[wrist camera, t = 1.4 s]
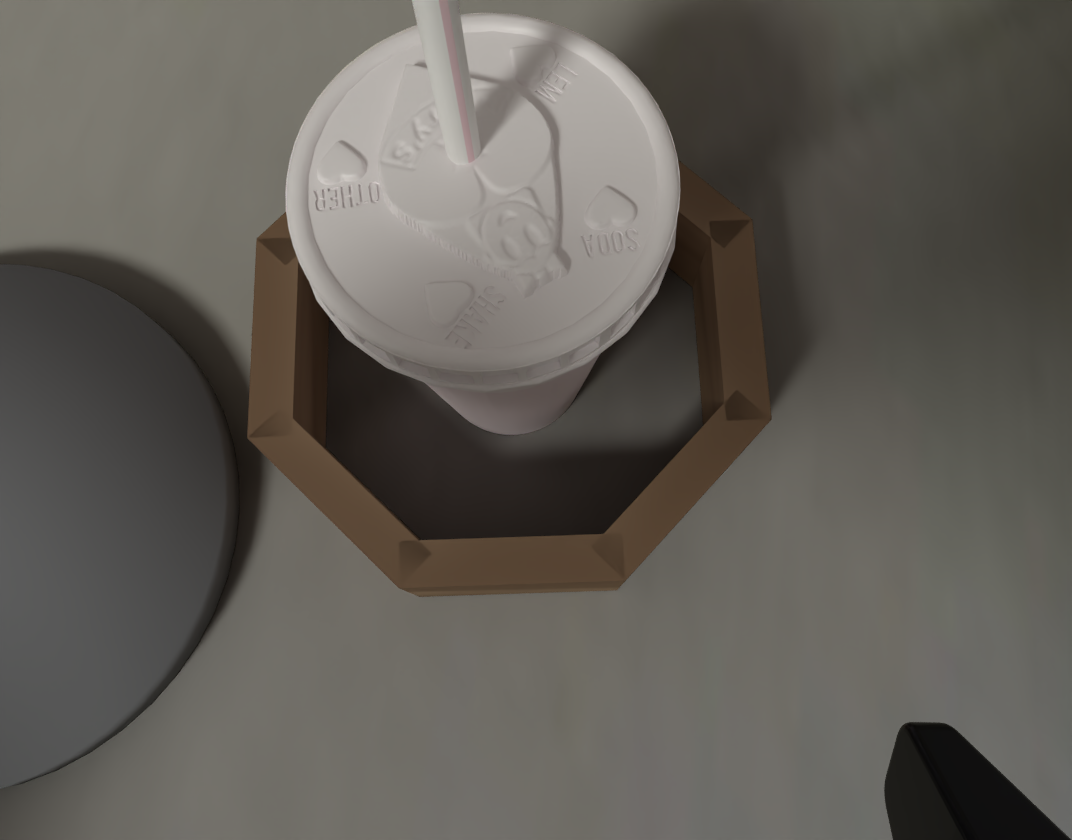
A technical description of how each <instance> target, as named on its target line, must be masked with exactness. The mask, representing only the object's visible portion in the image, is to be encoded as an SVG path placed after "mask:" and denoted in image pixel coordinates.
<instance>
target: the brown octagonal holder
mask: <svg viewBox="0 0 1072 840" xmlns="http://www.w3.org/2000/svg"><path fill="white" fill-rule="evenodd" d="M678 165H679V171H680V201H679V211H678V216H677V227H676V239H675V249H674V252H673V254H672V257H671V259H670V262H669V264H668V267H669V268H670V269H671V270H672V271H674V272H675V273H676V274H677V275H678V276H680V277H681V278H682V279H683V280H684V281H686V282H687V283H688V284H689V285H690V286H692V287H693V300H694V312H695V325H696V338H697V351H698V364H699V377H700V390H701V403H702V416H703V427H702V428H701V429H700V430H699V431H698V432H697V433H696V434H695V435H694V436H693V437H692V438H691V440H690V441H689V442H688V443H687V444H686V445H685V446H684V447H683V448H682V449H681V450H680V452H679V453H678V454H677V455H676V456H675V457H674V458H673V459H672V460H671V461H670V462H669V463H668V465H667V466H666V467H665V468H664V469H663V470H662V471H661V472H660V473H659V474H658V475H657V476H656V478H655V479H654V480H653V481H652V482H651V483H650V484H649V485H648V486H647V487H646V488H645V489H644V491H643V492H642V493H641V494H640V495H639V496H638V497H637V498H636V499H635V500H634V501H633V503H632V504H631V505H630V506H629V507H628V508H627V509H626V510H625V511H624V512H623V513H622V514H621V516H620V517H619V518H618V519H617V520H616V521H615V522H614V523H613V524H612V525H611V526H610V527H609V529H608V530H607V531H606V532H605V533H604V534H590V535H560V536H531V537H501V538H472V539H442V540H421V539H420V538H418V537H417V536H416V535H415V534H414V533H413V532H412V531H411V530H410V529H409V528H408V527H407V526H406V525H405V524H404V523H403V522H402V521H401V520H400V519H399V518H398V517H397V516H396V515H395V514H394V513H393V512H392V511H391V510H390V509H389V508H388V507H387V506H385V505H384V504H383V503H382V502H381V501H380V500H379V499H378V498H377V497H376V496H375V495H374V494H373V493H372V492H371V491H370V490H369V489H368V488H367V487H366V486H365V485H364V484H363V483H362V482H361V481H360V480H359V479H358V478H357V477H356V476H355V475H354V474H352V473H351V472H350V471H349V470H348V469H347V468H346V467H345V466H344V465H343V464H342V463H341V462H340V461H339V460H338V459H337V458H336V457H335V456H334V455H333V454H332V453H331V452H330V451H329V450H328V449H327V448H326V415H327V377H328V338H329V316H328V315H327V313H326V312H325V311H324V310H323V308H322V307H321V306H320V305H319V303H318V302H317V300H316V298H315V295H314V293H313V290H312V288H311V285H310V283H309V281H308V279H307V277H306V275H305V273H304V271H303V269H302V267H301V265H300V263H299V261H298V258H297V256H296V253H295V250H294V248H293V244H292V240H291V237H290V233H289V229H288V222H287V215H286V212H285V213H284V214H283V215H282V216H281V217H280V218H279V219H278V220H276V221H275V222H274V223H273V224H272V225H271V226H270V227H269V228H268V229H267V230H266V231H265V232H263V233H262V234H261V235H260V236H259V237H258V238H257V243H256V264H255V285H254V306H253V327H252V348H251V369H250V390H249V411H248V431H247V438H248V439H249V440H250V441H251V442H252V443H253V444H254V445H255V446H256V447H257V448H258V449H259V450H260V451H261V452H262V453H263V454H264V455H265V456H266V457H267V458H268V459H269V460H270V461H271V462H272V463H273V464H274V465H275V466H276V467H277V468H278V469H279V470H280V471H281V472H282V473H283V474H284V475H285V476H286V477H287V478H288V479H289V480H290V481H291V482H292V483H293V484H294V485H295V486H296V487H297V488H298V489H299V490H300V491H301V492H302V493H303V494H304V495H305V496H306V497H307V498H308V499H309V500H310V501H311V502H312V503H313V504H314V505H315V506H316V507H317V508H318V509H319V510H320V511H322V512H323V513H324V514H325V515H326V516H327V517H328V518H329V519H330V520H331V521H332V522H333V523H334V524H335V525H336V526H337V527H338V528H339V529H340V530H341V531H342V532H343V533H344V534H345V535H346V536H347V537H348V538H349V539H350V540H351V541H352V542H353V543H354V544H355V545H356V546H357V547H358V548H359V549H360V550H361V551H362V552H363V553H364V554H365V555H366V556H367V557H368V558H369V559H370V560H371V561H372V562H373V563H374V564H375V565H376V566H377V567H378V568H379V569H380V570H381V571H382V572H383V573H384V574H385V575H386V576H387V577H388V578H389V579H390V580H391V581H392V582H393V583H394V584H395V585H396V586H397V587H398V588H400V589H402V590H405V591H407V592H410V593H412V594H414V595H417V596H419V597H425V596H455V595H486V594H516V593H547V592H577V591H608V590H617V589H618V588H619V587H620V586H621V585H622V584H623V583H624V582H625V581H626V580H627V578H628V577H629V576H630V575H631V574H632V573H633V572H634V571H635V570H636V568H637V567H638V566H639V565H640V564H641V563H642V562H643V561H644V560H645V559H646V557H647V556H648V555H649V554H650V553H651V552H652V551H653V550H654V549H655V548H656V546H657V545H658V544H659V543H660V542H661V541H662V540H663V539H664V538H665V536H666V535H667V534H668V533H669V532H670V531H671V530H672V529H673V528H674V527H675V525H676V524H677V523H678V522H679V521H680V520H681V519H682V518H683V517H684V516H685V514H686V513H687V512H688V511H689V510H690V509H691V508H692V507H693V506H694V504H695V503H696V502H697V501H698V500H699V499H700V498H701V497H702V496H703V495H704V493H705V492H706V491H707V490H708V489H709V488H710V487H711V486H712V485H713V484H714V482H715V481H716V480H717V479H718V478H719V477H720V476H721V475H722V474H723V472H724V471H725V470H726V469H727V468H728V467H729V466H730V465H731V464H732V463H733V461H734V460H735V459H736V458H737V457H738V456H739V455H740V454H741V453H742V451H743V450H744V449H745V448H746V447H747V446H748V445H749V444H750V443H751V442H752V440H753V439H754V438H755V437H756V436H757V435H758V434H759V433H760V432H761V430H762V429H763V428H764V427H765V426H766V425H767V424H768V423H769V422H770V420H771V408H770V398H769V387H768V377H767V367H766V356H765V346H764V336H763V325H762V315H761V305H760V294H759V284H758V274H757V263H756V253H755V242H754V232H753V222H752V219H751V218H750V217H749V216H747V215H746V214H745V213H744V212H742V211H741V210H740V209H739V208H738V207H736V206H735V205H734V204H733V203H731V202H730V201H729V200H728V199H726V198H725V197H724V196H723V195H721V194H720V193H719V192H718V191H716V190H715V189H714V188H713V187H711V186H710V185H709V184H708V183H706V182H705V181H704V180H703V179H701V178H700V177H699V176H698V175H696V174H695V173H694V172H693V171H691V170H690V169H689V168H688V167H686V166H685V165H684V164H683V163H681V162H680V161H679V160H678Z"/></svg>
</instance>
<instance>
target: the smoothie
mask: <svg viewBox="0 0 1072 840" xmlns="http://www.w3.org/2000/svg"><path fill="white" fill-rule="evenodd" d="M412 3H413V7H414V12H415V16H416V21H417V25H415V26H413V27H410V28H407V29H405V30H402V31H400V32H398V33H396V34H394V35H392V36H390V37H388V38H386V39H384V40H382V41H381V42H379V43H377V44H376V45H374V46H372V47H371V48H369V49H368V50H366V51H365V52H364V53H362V54H361V55H359V56H358V57H357V58H355V59H354V60H353V61H352V62H351V63H350V64H348V65H347V66H346V67H345V68H344V69H343V70H342V71H341V72H340V73H339V74H338V75H337V76H336V77H335V78H334V79H333V80H332V81H331V82H330V83H329V84H328V86H327V87H326V88H325V89H324V91H323V92H322V93H321V94H320V96H319V97H318V99H317V100H316V102H315V103H314V105H313V106H312V108H311V109H310V111H309V113H308V115H307V116H306V118H305V120H304V122H303V124H302V126H301V128H300V131H299V133H298V136H297V138H296V141H295V143H294V147H293V150H292V154H291V157H290V161H289V167H288V172H287V180H286V193H285V195H286V215H287V222H288V229H289V233H290V237H291V240H292V244H293V248H294V250H295V253H296V256H297V258H298V261H299V263H300V265H301V267H302V269H303V271H304V273H305V275H306V277H307V279H308V281H309V283H310V285H311V288H312V290H313V293H314V295H315V298H316V300H317V302H318V303H319V305H320V306H321V307H322V308H323V310H324V311H325V312H326V313H327V315H328V316H329V317H330V319H331V320H332V321H333V322H334V324H335V325H336V326H337V328H338V329H339V330H340V331H341V333H342V334H343V335H344V337H345V338H346V339H347V340H349V341H350V342H351V343H353V344H354V345H355V346H357V347H358V348H360V349H361V350H362V351H364V352H365V353H366V354H368V355H369V356H371V357H372V358H373V359H375V360H376V361H377V362H379V363H380V364H382V365H383V366H384V367H386V368H387V369H390V370H393V371H395V372H398V373H401V374H403V375H406V376H408V377H411V378H414V379H416V380H419V381H422V382H424V383H426V384H427V385H428V386H429V387H430V388H431V389H432V390H433V391H435V392H436V393H437V394H438V395H439V396H440V397H441V398H442V399H444V400H445V401H446V402H447V403H448V404H449V405H450V406H451V407H453V408H454V409H455V410H456V411H457V412H458V413H459V414H460V415H462V416H463V417H464V418H465V419H466V420H468V421H469V422H470V423H472V424H473V425H475V426H477V427H479V428H481V429H483V430H486V431H489V432H492V433H496V434H503V435H520V434H526V433H530V432H534V431H537V430H539V429H542V428H544V427H546V426H548V425H549V424H551V423H552V422H554V421H555V420H557V419H558V418H559V417H560V416H561V415H562V414H563V413H564V412H565V411H566V410H567V409H568V408H569V407H570V405H571V404H572V402H573V401H574V399H575V397H576V395H577V394H578V392H579V390H580V388H581V387H582V385H583V383H584V381H585V380H586V378H587V376H588V374H589V373H590V371H591V369H592V367H593V366H594V364H595V362H596V360H597V359H598V357H599V355H600V353H602V352H603V351H604V350H606V349H607V348H608V347H610V346H611V345H612V344H613V343H615V342H616V341H617V340H619V339H620V338H621V337H623V336H624V335H625V334H626V333H627V332H628V331H629V330H630V329H631V327H632V326H633V325H634V323H635V322H636V321H637V319H638V318H639V317H640V315H641V314H642V313H643V311H644V310H645V309H646V307H647V306H648V305H649V303H650V302H651V301H652V300H653V298H654V297H655V296H656V294H657V293H658V290H659V287H660V285H661V282H662V280H663V277H664V275H665V272H666V270H667V267H668V264H669V262H670V259H671V257H672V254H673V252H674V249H675V239H676V227H677V216H678V211H679V201H680V171H679V165H678V158H677V153H676V149H675V145H674V141H673V138H672V135H671V132H670V130H669V127H668V124H667V122H666V120H665V118H664V116H663V114H662V112H661V110H660V108H659V106H658V104H657V103H656V101H655V100H654V98H653V97H652V95H651V93H650V92H649V90H648V89H647V88H646V87H645V85H644V84H643V83H642V82H641V80H640V79H639V78H638V77H637V76H636V75H635V74H634V73H633V72H632V71H631V70H630V69H629V68H628V67H627V66H626V65H625V64H624V63H623V62H622V61H621V60H619V59H618V58H617V57H616V56H615V55H613V54H612V53H611V52H609V51H608V50H606V49H605V48H604V47H602V46H601V45H599V44H598V43H596V42H594V41H592V40H591V39H589V38H587V37H585V36H584V35H582V34H580V33H577V32H575V31H573V30H571V29H568V28H566V27H563V26H560V25H557V24H555V23H552V22H549V21H545V20H541V19H537V18H533V17H527V16H521V15H515V14H503V13H472V14H462V15H460V9H459V3H458V0H412Z"/></svg>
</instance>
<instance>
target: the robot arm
mask: <svg viewBox="0 0 1072 840" xmlns="http://www.w3.org/2000/svg"><path fill="white" fill-rule="evenodd" d="M884 792H885V803H886V809H887V814H888V818H889V823H890V828H891V832H892V837H893V840H1071V839H1070V838H1069V837H1068V836H1067V835H1066V834H1065V833H1064V832H1063V831H1061V830H1060V829H1059V828H1058V827H1057V826H1056V825H1055V824H1054V823H1053V822H1052V821H1051V820H1050V819H1049V818H1048V817H1047V816H1046V815H1045V814H1044V813H1043V812H1042V811H1041V810H1039V809H1038V808H1037V807H1036V806H1035V805H1034V804H1033V803H1032V802H1031V801H1030V800H1029V799H1028V798H1027V797H1026V796H1025V795H1024V794H1023V793H1022V792H1021V791H1020V790H1019V789H1017V788H1016V787H1015V786H1014V785H1013V784H1012V783H1011V782H1010V781H1009V780H1008V779H1007V778H1006V777H1005V776H1004V775H1003V774H1002V773H1001V772H1000V771H999V770H998V769H997V768H995V767H994V766H993V765H992V764H991V763H990V762H989V761H988V760H987V759H986V758H985V757H984V756H983V755H982V754H981V753H980V752H979V751H978V750H977V749H976V748H975V747H974V746H972V745H971V744H970V743H969V742H968V741H967V740H966V739H965V738H964V737H963V736H962V735H961V734H960V733H959V732H958V731H957V730H955V729H954V728H953V727H951V726H949V725H947V724H945V723H930V722H909V723H905V724H904V725H903V726H902V727H901V728H900V730H899V732H898V735H897V738H896V742H895V745H894V749H893V753H892V756H891V760H890V764H889V767H888V771H887V774H886V779H885V787H884Z"/></svg>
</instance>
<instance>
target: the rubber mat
mask: <svg viewBox="0 0 1072 840" xmlns="http://www.w3.org/2000/svg"><path fill="white" fill-rule="evenodd" d="M238 518H239V476H238V469H237V463H236V456H235V450H234V444H233V441H232V438H231V434H230V431H229V428H228V424H227V421H226V418H225V415H224V413H223V410H222V408H221V406H220V404H219V402H218V399H217V397H216V395H215V393H214V391H213V389H212V387H211V385H210V384H209V382H208V381H207V379H206V378H205V376H204V374H203V373H202V371H201V370H200V368H199V367H198V365H197V364H196V362H195V361H194V360H193V359H192V358H191V357H190V355H189V354H188V353H187V352H186V351H185V350H184V349H183V347H182V346H181V345H180V344H179V343H178V342H177V341H176V340H175V339H174V338H173V337H172V336H171V335H170V334H168V333H167V332H166V331H165V330H164V329H162V328H161V327H160V326H159V325H158V324H157V323H155V322H154V321H153V320H152V319H151V318H149V317H148V316H147V315H146V314H144V313H143V312H142V311H141V310H140V309H138V308H137V307H136V306H134V305H133V304H131V303H129V302H128V301H126V300H125V299H123V298H121V297H120V296H118V295H117V294H115V293H113V292H112V291H110V290H108V289H106V288H103V287H101V286H99V285H97V284H94V283H92V282H90V281H88V280H85V279H83V278H80V277H77V276H73V275H70V274H66V273H63V272H59V271H56V270H52V269H46V268H39V267H33V266H26V265H10V264H0V789H1V788H5V787H9V786H13V785H18V784H22V783H25V782H27V781H30V780H32V779H35V778H38V777H40V776H43V775H46V774H48V773H51V772H53V771H56V770H58V769H60V768H62V767H64V766H66V765H68V764H70V763H71V762H73V761H75V760H77V759H79V758H81V757H83V756H85V755H87V754H88V753H90V752H92V751H93V750H95V749H96V748H98V747H99V746H100V745H102V744H103V743H105V742H106V741H108V740H109V739H110V738H112V737H113V736H115V735H116V734H118V733H119V732H120V731H122V730H123V729H124V728H125V727H126V726H127V725H129V724H130V723H131V722H132V721H133V720H134V719H135V718H136V717H138V716H139V715H140V714H141V713H142V712H143V711H144V710H145V709H146V708H148V707H149V706H150V705H151V704H152V703H153V701H154V700H155V699H156V698H157V697H158V696H159V695H160V694H161V692H162V691H163V690H164V689H165V688H166V687H167V686H168V684H169V683H170V682H171V681H172V680H173V679H174V678H175V676H176V675H177V674H178V672H179V671H180V669H181V668H182V666H183V665H184V663H185V662H186V661H187V659H188V658H189V656H190V655H191V653H192V652H193V650H194V649H195V648H196V646H197V644H198V642H199V641H200V639H201V637H202V635H203V633H204V631H205V629H206V627H207V625H208V623H209V622H210V620H211V618H212V616H213V614H214V612H215V609H216V607H217V604H218V601H219V599H220V596H221V593H222V591H223V588H224V586H225V583H226V580H227V577H228V573H229V569H230V565H231V561H232V557H233V553H234V548H235V544H236V535H237V526H238Z"/></svg>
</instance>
